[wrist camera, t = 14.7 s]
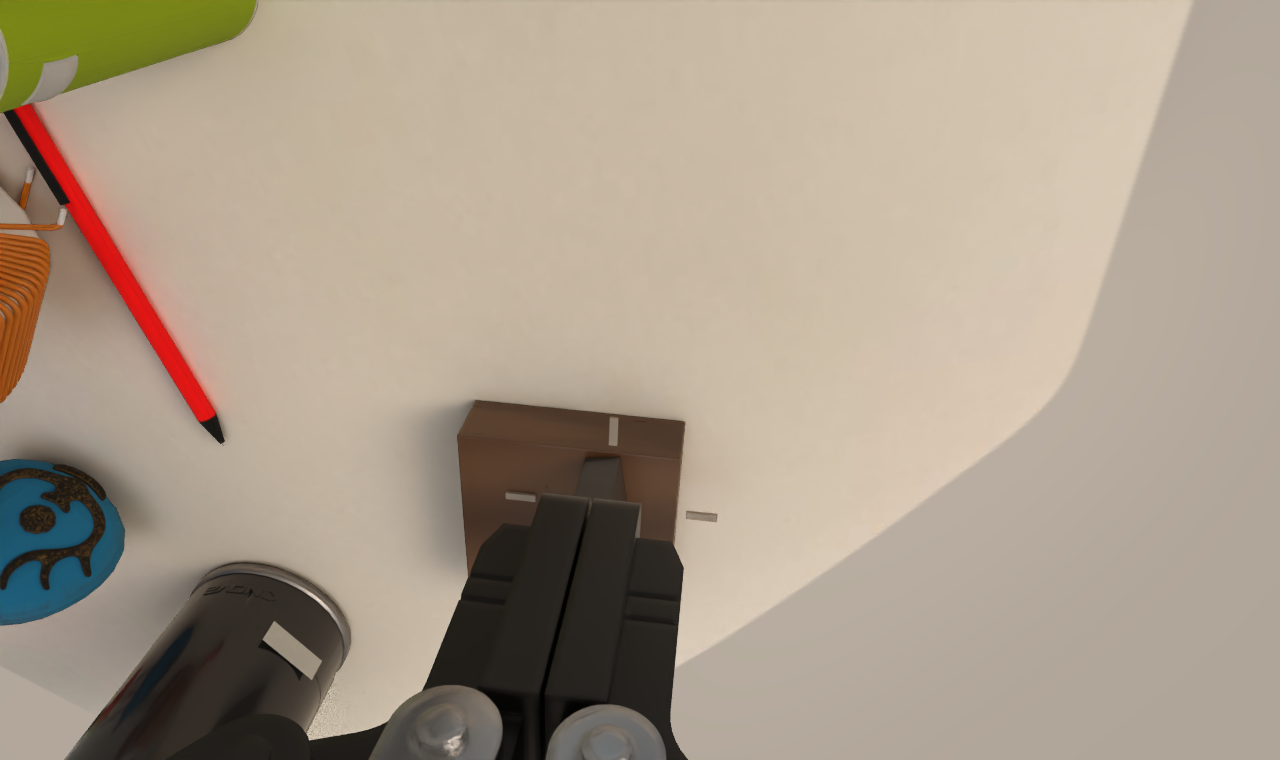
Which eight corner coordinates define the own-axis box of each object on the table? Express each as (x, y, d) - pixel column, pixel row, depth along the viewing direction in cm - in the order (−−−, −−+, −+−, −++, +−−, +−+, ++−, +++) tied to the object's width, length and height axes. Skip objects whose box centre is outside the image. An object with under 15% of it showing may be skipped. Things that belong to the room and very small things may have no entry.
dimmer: (705, 582, 44) (703, 628, 41) (485, 556, 45) (468, 600, 42) (729, 391, 38) (727, 430, 35) (473, 365, 39) (452, 402, 36)
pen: (6, 54, 34) (-16, 59, 33) (236, 438, 43) (224, 451, 42) (-12, 59, 34) (-34, 65, 33) (221, 441, 43) (209, 454, 42)
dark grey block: (635, 551, 40) (624, 615, 36) (601, 551, 40) (587, 615, 36) (620, 456, 37) (607, 516, 33) (584, 457, 37) (567, 517, 34)
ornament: (171, 505, 46) (39, 650, 37) (135, 548, 48) (2, 694, 39) (28, 411, 43) (-148, 543, 35) (-3, 460, 45) (-176, 596, 37)
